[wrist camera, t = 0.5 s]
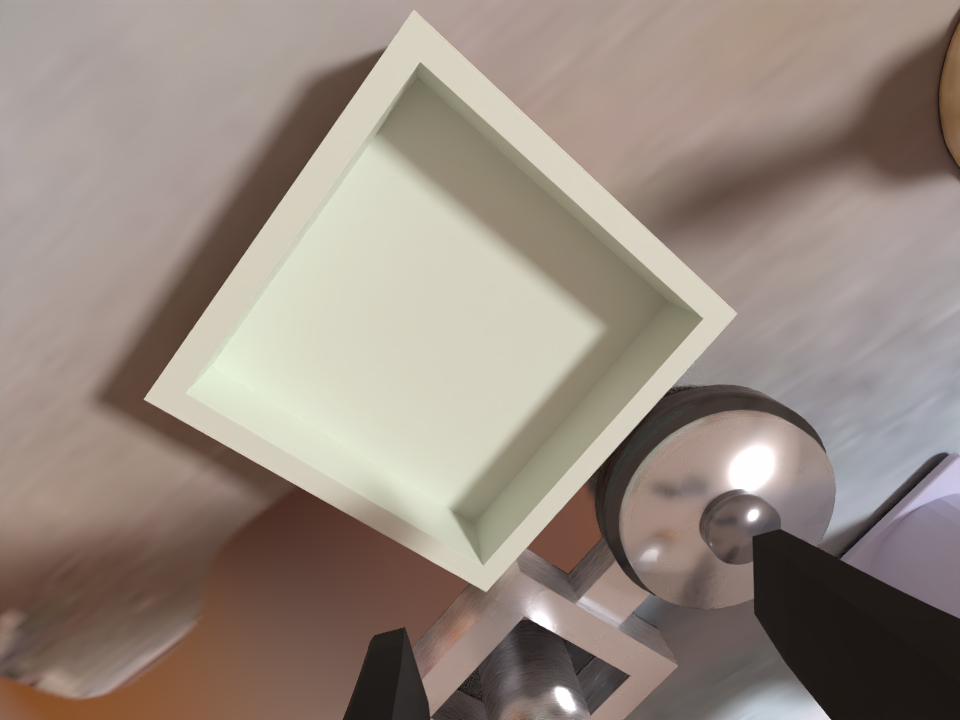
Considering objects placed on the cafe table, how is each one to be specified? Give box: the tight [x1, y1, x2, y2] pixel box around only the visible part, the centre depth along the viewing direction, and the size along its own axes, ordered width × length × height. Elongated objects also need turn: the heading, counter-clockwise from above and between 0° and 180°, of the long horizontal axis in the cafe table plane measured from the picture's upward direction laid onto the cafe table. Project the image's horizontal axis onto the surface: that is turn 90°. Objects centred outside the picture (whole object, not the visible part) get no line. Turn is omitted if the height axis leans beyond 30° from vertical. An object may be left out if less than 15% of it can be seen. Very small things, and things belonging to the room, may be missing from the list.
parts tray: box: [144, 10, 737, 592], centre depth 18 cm, size 13×13×3 cm
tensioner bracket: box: [412, 385, 836, 720], centre depth 22 cm, size 9×20×4 cm, turn 141°
